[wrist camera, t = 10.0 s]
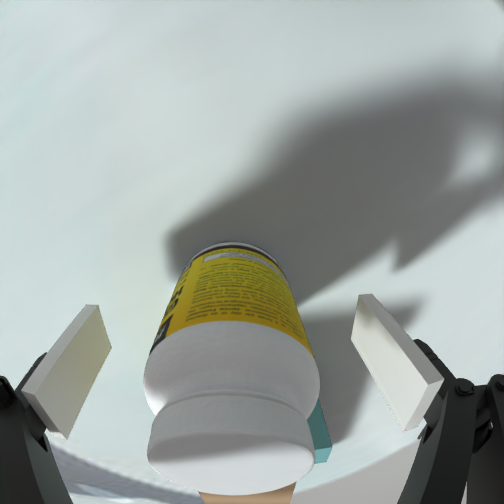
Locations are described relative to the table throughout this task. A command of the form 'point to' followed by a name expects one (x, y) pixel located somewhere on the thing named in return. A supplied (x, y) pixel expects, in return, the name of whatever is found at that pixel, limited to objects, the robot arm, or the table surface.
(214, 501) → the slab
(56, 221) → the table surface
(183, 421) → the pill bottle
